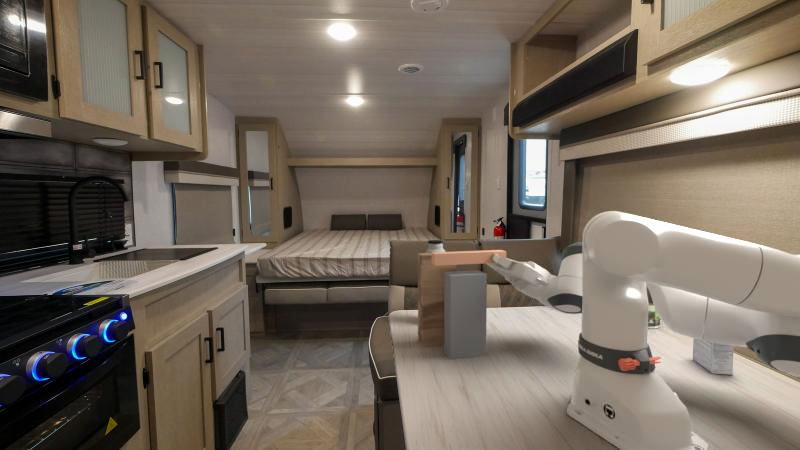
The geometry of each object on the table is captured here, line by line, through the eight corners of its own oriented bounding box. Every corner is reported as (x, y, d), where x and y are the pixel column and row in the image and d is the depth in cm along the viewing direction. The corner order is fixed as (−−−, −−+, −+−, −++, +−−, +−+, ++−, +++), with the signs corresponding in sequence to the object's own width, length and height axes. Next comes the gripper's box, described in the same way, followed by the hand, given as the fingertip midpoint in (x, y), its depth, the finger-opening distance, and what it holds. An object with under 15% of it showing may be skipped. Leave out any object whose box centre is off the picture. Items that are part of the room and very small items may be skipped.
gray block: (486, 355, 97) (486, 274, 95) (450, 359, 95) (450, 276, 93) (478, 348, 102) (478, 270, 100) (444, 351, 100) (444, 272, 98)
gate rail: (506, 262, 97) (506, 251, 97) (434, 265, 93) (434, 254, 93) (500, 260, 100) (501, 249, 100) (431, 263, 96) (431, 252, 96)
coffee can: (664, 323, 120) (665, 281, 119) (655, 331, 113) (656, 287, 112) (628, 316, 128) (630, 276, 127) (618, 323, 121) (619, 281, 120)
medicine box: (733, 375, 85) (735, 339, 84) (711, 374, 86) (713, 338, 85) (711, 361, 93) (713, 327, 92) (691, 359, 94) (693, 326, 93)
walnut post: (456, 344, 105) (456, 254, 103) (422, 347, 102) (422, 256, 101) (450, 337, 109) (450, 252, 108) (418, 340, 107) (417, 253, 106)
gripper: (545, 297, 91) (501, 272, 88) (505, 280, 111) (469, 259, 108) (557, 275, 91) (514, 250, 88) (515, 262, 111) (479, 240, 108)
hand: (489, 255), depth 98 cm, fingers closed on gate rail, 3 cm apart
